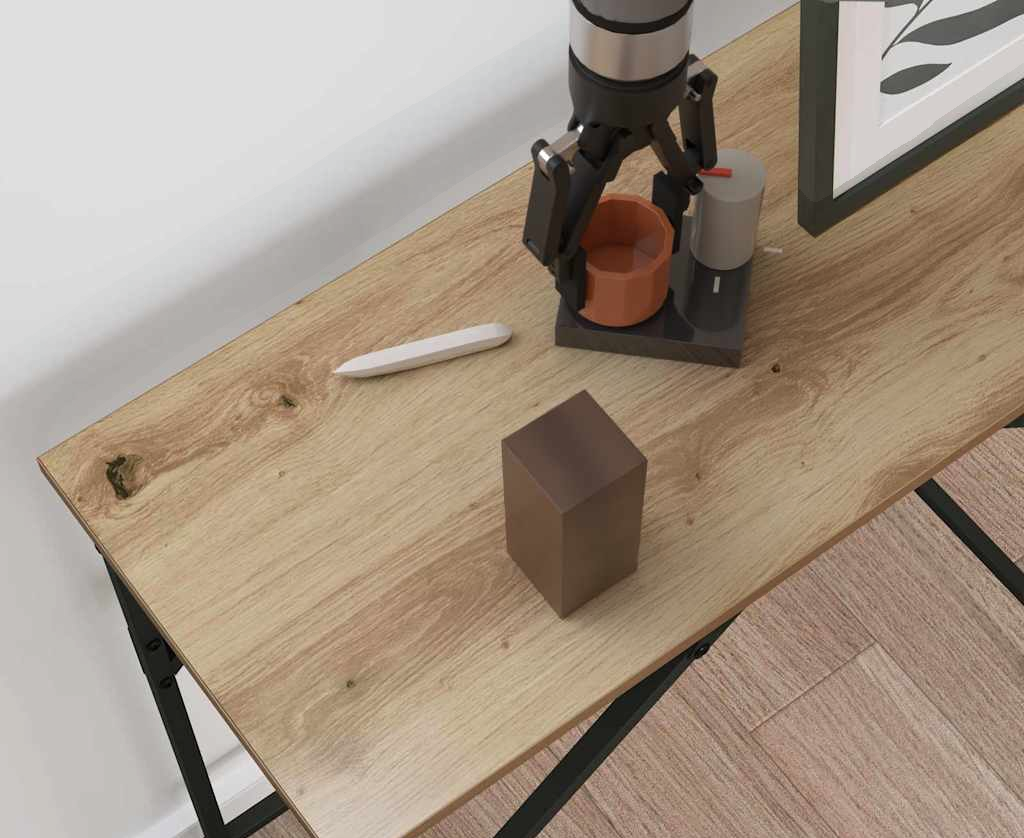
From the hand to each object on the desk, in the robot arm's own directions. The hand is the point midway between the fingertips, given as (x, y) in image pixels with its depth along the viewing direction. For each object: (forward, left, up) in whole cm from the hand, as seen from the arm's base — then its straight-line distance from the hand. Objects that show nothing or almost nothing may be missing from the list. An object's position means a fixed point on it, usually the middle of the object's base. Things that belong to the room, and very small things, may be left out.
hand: (617, 269), depth 120 cm
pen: (+14, +7, -5) cm, 16 cm away
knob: (-7, -5, -3) cm, 10 cm away
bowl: (0, 0, -2) cm, 2 cm away
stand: (0, +22, -5) cm, 23 cm away
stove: (-4, -3, -5) cm, 7 cm away
